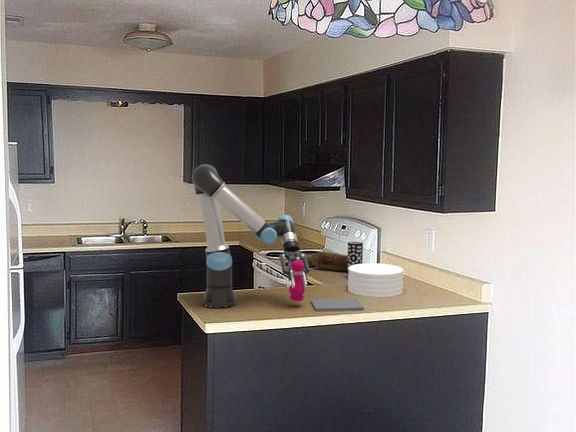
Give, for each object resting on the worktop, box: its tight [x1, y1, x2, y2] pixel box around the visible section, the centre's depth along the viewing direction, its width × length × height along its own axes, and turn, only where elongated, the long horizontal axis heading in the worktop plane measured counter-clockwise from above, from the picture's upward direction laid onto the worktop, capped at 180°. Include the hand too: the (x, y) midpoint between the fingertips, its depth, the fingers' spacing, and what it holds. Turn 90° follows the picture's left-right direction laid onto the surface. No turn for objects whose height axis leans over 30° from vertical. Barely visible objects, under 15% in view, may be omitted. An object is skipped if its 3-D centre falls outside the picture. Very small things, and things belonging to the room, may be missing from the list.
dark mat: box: [310, 298, 365, 312], centre depth 282 cm, size 22×16×1 cm
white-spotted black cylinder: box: [346, 241, 364, 279], centre depth 339 cm, size 8×8×20 cm
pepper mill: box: [288, 257, 306, 302], centre depth 279 cm, size 7×7×20 cm
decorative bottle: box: [285, 250, 348, 273], centre depth 366 cm, size 11×11×45 cm
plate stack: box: [347, 262, 405, 298], centre depth 313 cm, size 28×28×12 cm
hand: (299, 285), depth 276 cm, fingers closed on pepper mill, 5 cm apart
